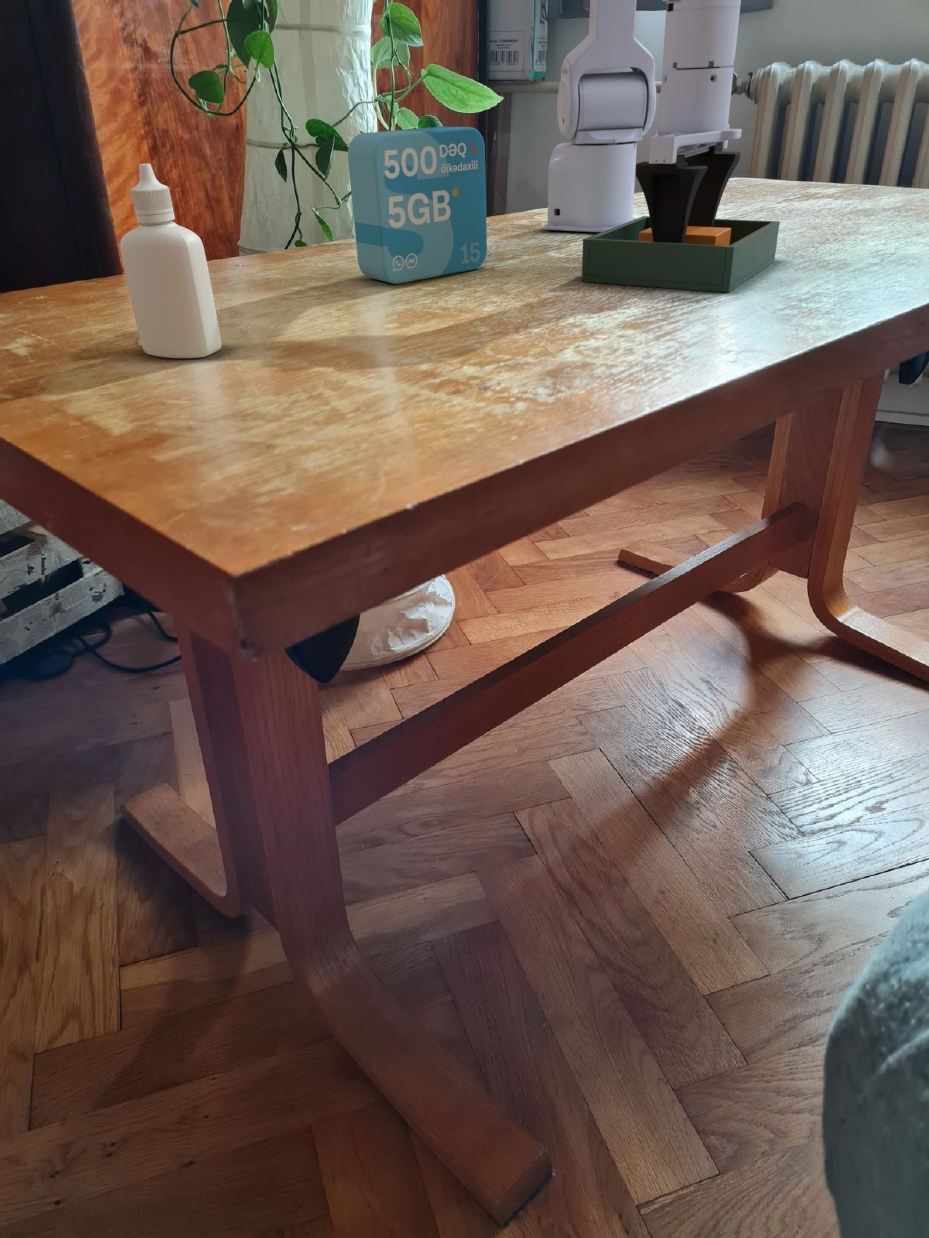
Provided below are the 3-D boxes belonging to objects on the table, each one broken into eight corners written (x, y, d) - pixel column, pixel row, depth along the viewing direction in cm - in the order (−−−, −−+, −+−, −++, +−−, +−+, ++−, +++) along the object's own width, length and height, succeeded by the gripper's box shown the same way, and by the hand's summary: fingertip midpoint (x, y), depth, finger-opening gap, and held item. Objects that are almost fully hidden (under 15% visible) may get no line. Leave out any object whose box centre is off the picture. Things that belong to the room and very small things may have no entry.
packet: (636, 267, 80) (638, 232, 79) (654, 259, 84) (656, 224, 82) (712, 272, 77) (716, 235, 76) (727, 263, 80) (731, 228, 79)
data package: (385, 287, 80) (372, 136, 73) (358, 280, 83) (344, 134, 76) (488, 267, 86) (485, 126, 79) (460, 262, 89) (455, 125, 83)
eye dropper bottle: (192, 339, 66) (156, 159, 60) (230, 352, 63) (196, 162, 56) (137, 352, 64) (93, 165, 57) (173, 366, 60) (131, 169, 54)
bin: (581, 281, 79) (582, 239, 77) (640, 253, 89) (643, 216, 87) (728, 293, 73) (734, 247, 71) (774, 262, 83) (780, 221, 81)
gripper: (718, 69, 65) (699, 264, 73) (771, 65, 76) (750, 235, 83) (628, 72, 69) (619, 258, 76) (690, 68, 79) (677, 232, 86)
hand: (682, 246), depth 80 cm, fingers open, 7 cm apart
